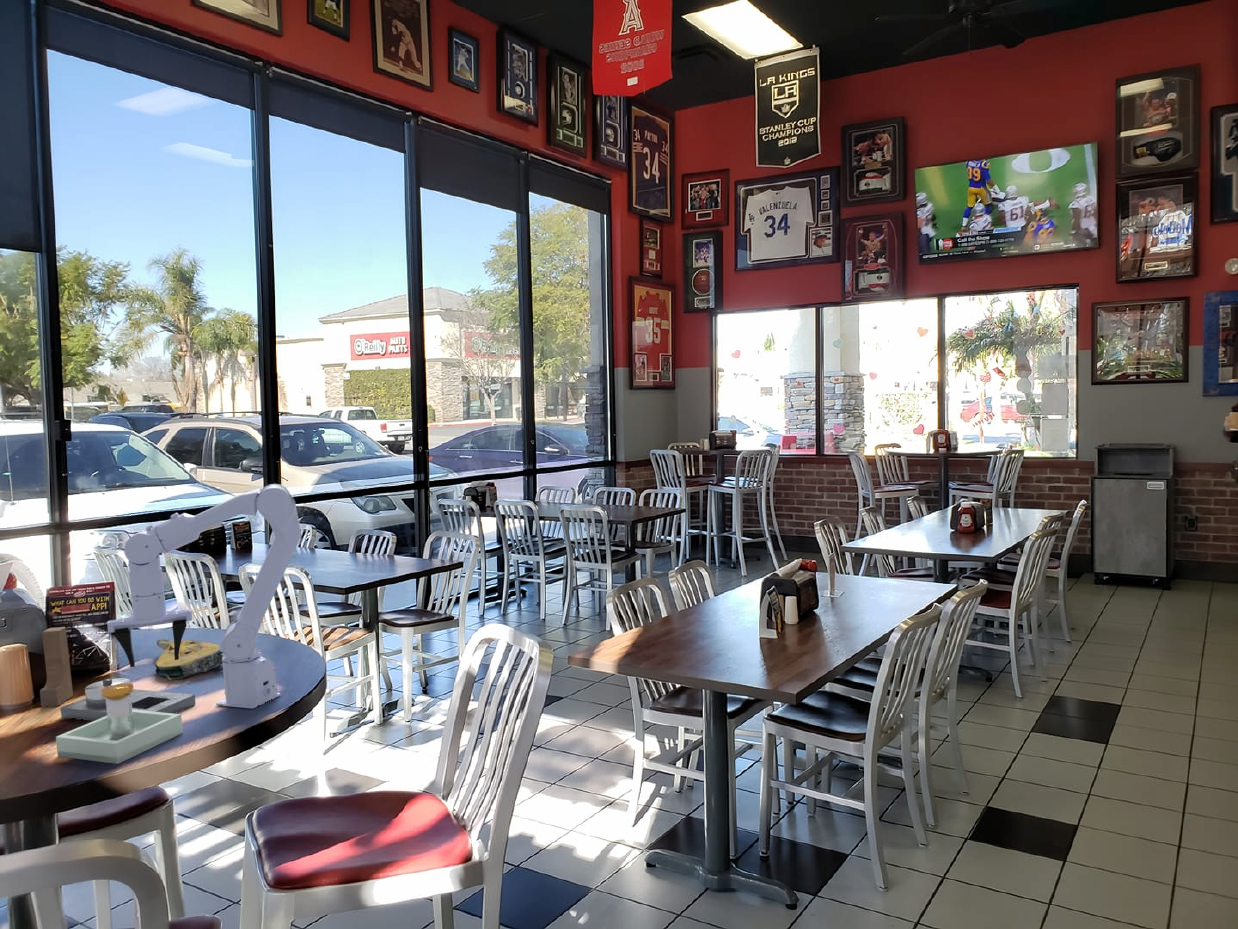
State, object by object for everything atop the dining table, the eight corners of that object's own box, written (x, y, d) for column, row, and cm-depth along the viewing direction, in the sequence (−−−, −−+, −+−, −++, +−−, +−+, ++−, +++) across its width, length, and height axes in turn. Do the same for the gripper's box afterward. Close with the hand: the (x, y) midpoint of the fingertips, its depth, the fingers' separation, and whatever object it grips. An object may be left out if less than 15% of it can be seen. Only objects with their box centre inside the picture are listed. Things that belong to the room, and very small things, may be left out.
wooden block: (57, 697, 193) (49, 627, 192) (73, 696, 193) (66, 626, 192) (41, 708, 187) (33, 636, 185) (58, 706, 187) (50, 634, 186)
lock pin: (144, 732, 167) (139, 683, 166) (120, 742, 162) (115, 693, 161) (123, 729, 169) (119, 682, 168) (99, 740, 164) (94, 691, 163)
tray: (182, 732, 168) (181, 714, 168) (117, 764, 155) (115, 744, 155) (125, 726, 173) (123, 708, 173) (57, 756, 160) (55, 737, 160)
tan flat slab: (199, 621, 228) (229, 645, 204) (205, 642, 229) (235, 669, 205) (137, 641, 220) (161, 669, 196) (144, 663, 221) (168, 694, 197)
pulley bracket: (195, 704, 184) (192, 675, 183) (146, 726, 173) (142, 695, 172) (113, 696, 191) (110, 668, 191) (61, 717, 180) (58, 687, 180)
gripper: (188, 584, 184) (195, 650, 185) (106, 595, 177) (113, 664, 179) (189, 590, 177) (196, 659, 179) (104, 602, 171) (111, 673, 172)
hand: (154, 662), depth 178 cm, fingers open, 7 cm apart
